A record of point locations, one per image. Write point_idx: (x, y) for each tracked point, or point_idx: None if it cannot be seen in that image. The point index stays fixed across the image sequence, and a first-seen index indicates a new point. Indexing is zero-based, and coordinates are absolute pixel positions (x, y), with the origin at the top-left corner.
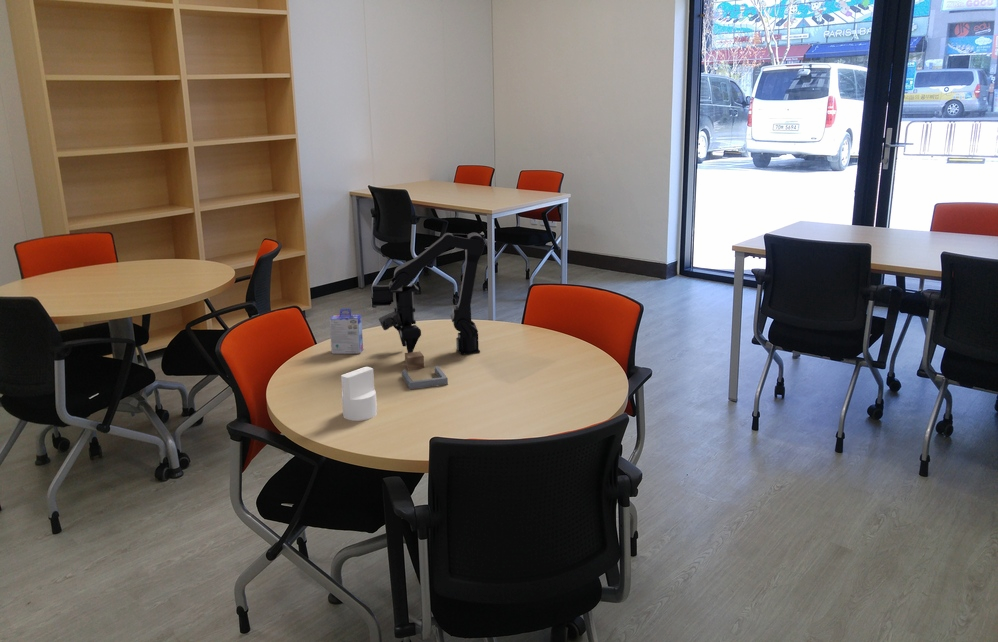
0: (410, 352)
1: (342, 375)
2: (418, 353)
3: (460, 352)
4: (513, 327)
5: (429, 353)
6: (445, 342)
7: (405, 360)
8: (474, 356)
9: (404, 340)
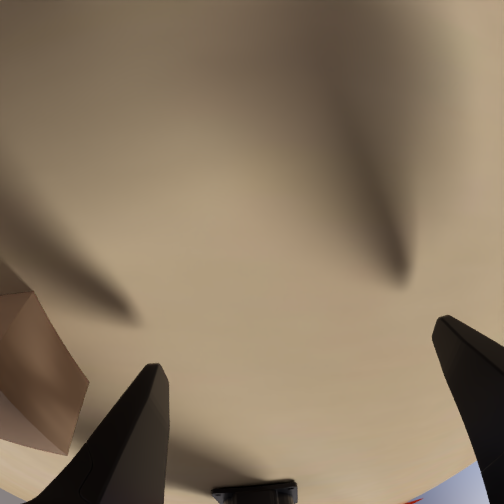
0: (15, 408)
1: None
2: (16, 435)
3: (228, 491)
4: (405, 497)
5: (276, 427)
6: (408, 444)
7: (4, 319)
8: (190, 497)
9: (463, 373)
